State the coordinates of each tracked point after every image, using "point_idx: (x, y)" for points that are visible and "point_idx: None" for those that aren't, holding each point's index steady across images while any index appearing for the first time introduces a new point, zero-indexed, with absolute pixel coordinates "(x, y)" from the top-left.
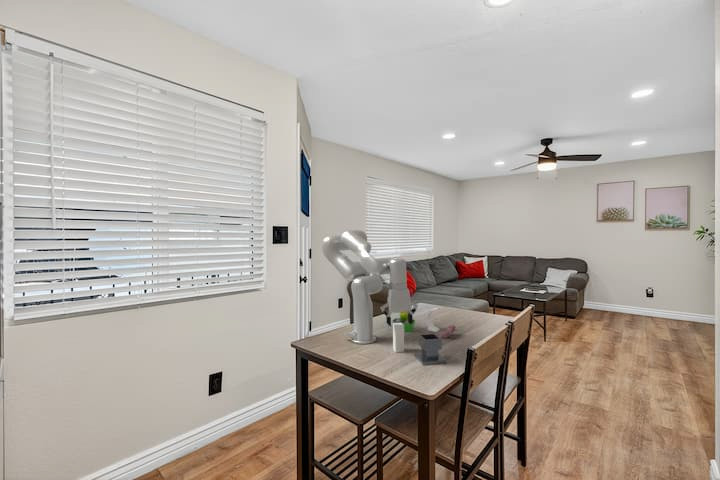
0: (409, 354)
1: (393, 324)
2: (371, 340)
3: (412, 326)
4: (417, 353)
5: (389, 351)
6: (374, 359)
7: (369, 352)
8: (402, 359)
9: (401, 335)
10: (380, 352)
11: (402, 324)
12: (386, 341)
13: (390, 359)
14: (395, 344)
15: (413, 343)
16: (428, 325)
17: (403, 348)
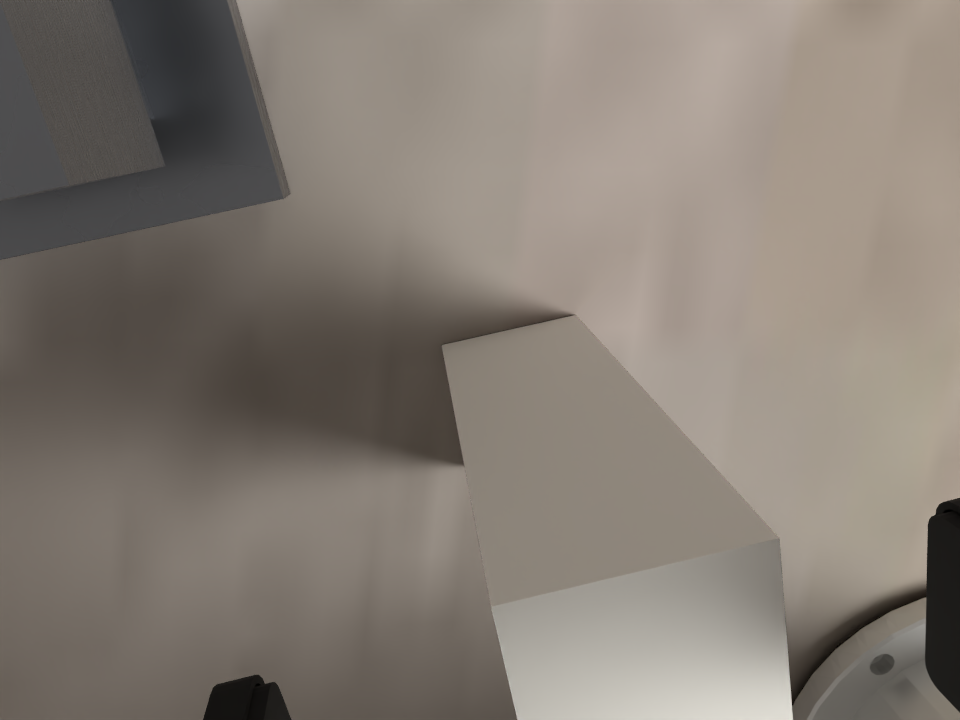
0: (368, 243)
1: (783, 693)
2: (868, 668)
3: None
4: (231, 166)
5: (660, 355)
6: (932, 37)
7: (946, 310)
8: (502, 30)
9: (524, 445)
10: (794, 314)
11: (530, 672)
12: None
13: (693, 33)
14: (610, 353)
15: (273, 660)
16: None
17: (457, 357)
